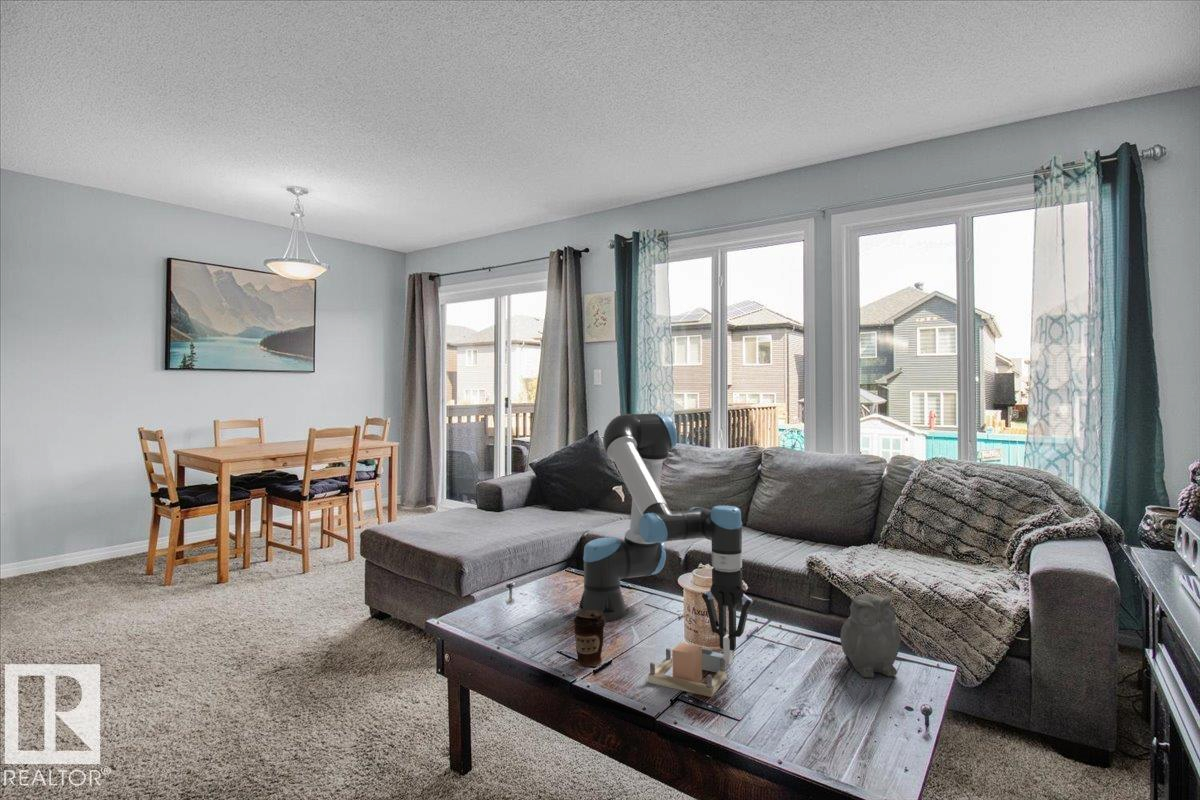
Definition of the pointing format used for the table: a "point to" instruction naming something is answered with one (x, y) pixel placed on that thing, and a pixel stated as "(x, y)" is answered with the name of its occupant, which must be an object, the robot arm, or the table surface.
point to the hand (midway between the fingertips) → (728, 662)
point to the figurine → (871, 635)
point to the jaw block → (687, 662)
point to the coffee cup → (589, 637)
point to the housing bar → (711, 660)
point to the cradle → (681, 684)
